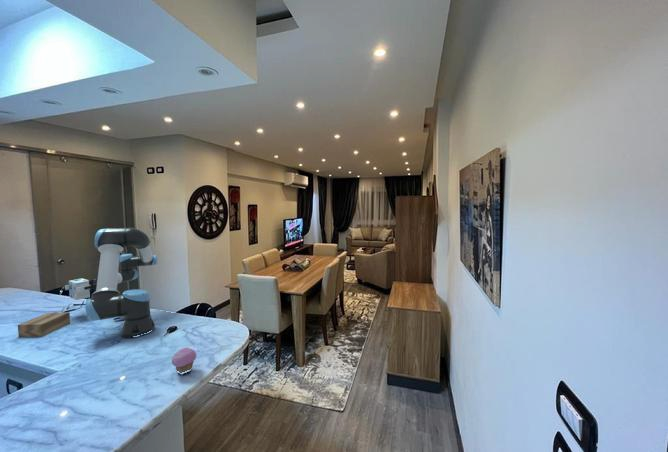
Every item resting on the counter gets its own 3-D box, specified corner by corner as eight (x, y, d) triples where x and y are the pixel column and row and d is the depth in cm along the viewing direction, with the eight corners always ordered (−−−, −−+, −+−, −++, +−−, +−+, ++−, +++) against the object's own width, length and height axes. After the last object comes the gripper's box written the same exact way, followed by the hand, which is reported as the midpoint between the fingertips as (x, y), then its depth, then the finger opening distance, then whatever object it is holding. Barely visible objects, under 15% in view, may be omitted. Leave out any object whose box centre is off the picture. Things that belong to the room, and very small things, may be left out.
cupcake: (191, 363, 117) (190, 342, 116) (200, 371, 112) (199, 349, 111) (169, 373, 110) (168, 350, 110) (177, 382, 105) (176, 358, 104)
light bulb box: (69, 297, 163) (67, 280, 163) (83, 294, 169) (82, 277, 168) (76, 300, 158) (75, 282, 158) (90, 297, 164) (89, 280, 163)
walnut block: (70, 323, 158) (69, 312, 157) (42, 336, 142) (41, 324, 141) (48, 324, 157) (48, 312, 156) (18, 337, 141) (17, 325, 140)
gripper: (123, 286, 176) (83, 297, 156) (101, 283, 184) (60, 292, 164) (123, 275, 176) (82, 284, 155) (100, 272, 184) (59, 280, 163)
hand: (71, 288), depth 160 cm, fingers closed on light bulb box, 11 cm apart
